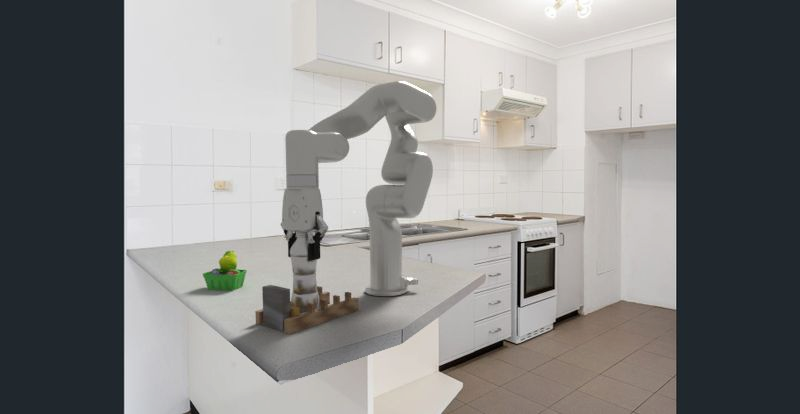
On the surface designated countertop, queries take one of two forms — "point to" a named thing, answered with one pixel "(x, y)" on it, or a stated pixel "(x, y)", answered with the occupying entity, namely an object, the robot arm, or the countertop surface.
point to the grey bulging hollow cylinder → (303, 274)
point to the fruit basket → (225, 274)
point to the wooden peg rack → (288, 317)
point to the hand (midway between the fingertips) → (304, 257)
